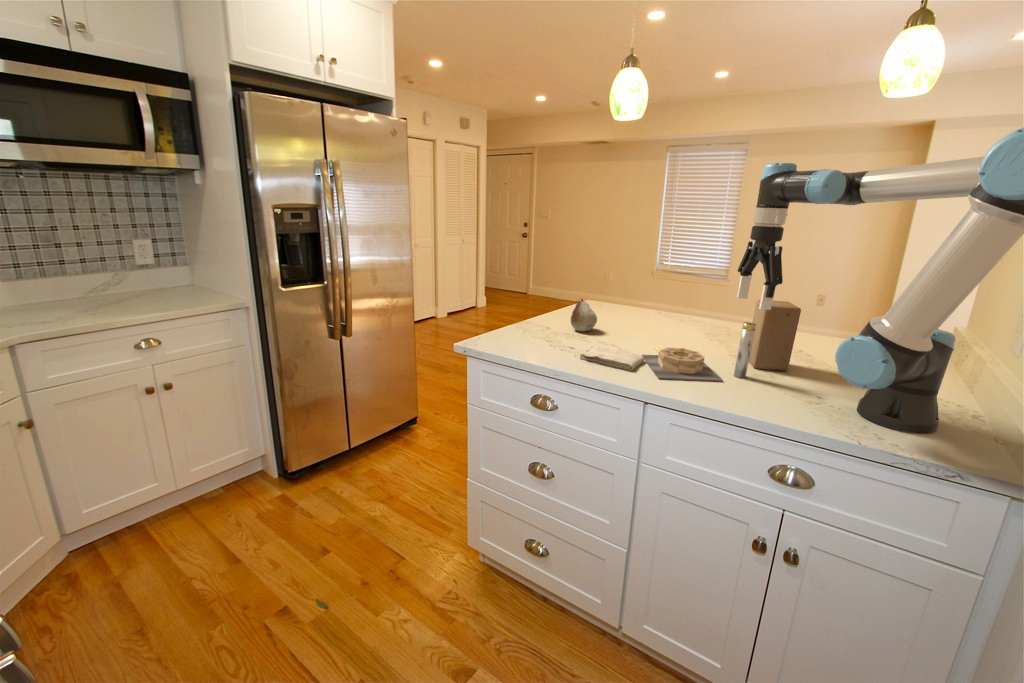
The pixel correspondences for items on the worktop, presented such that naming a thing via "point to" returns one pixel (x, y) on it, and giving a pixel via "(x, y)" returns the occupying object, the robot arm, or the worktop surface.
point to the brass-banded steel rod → (744, 349)
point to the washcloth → (612, 358)
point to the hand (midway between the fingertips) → (752, 303)
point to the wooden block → (774, 335)
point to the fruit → (583, 317)
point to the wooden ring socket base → (680, 365)
